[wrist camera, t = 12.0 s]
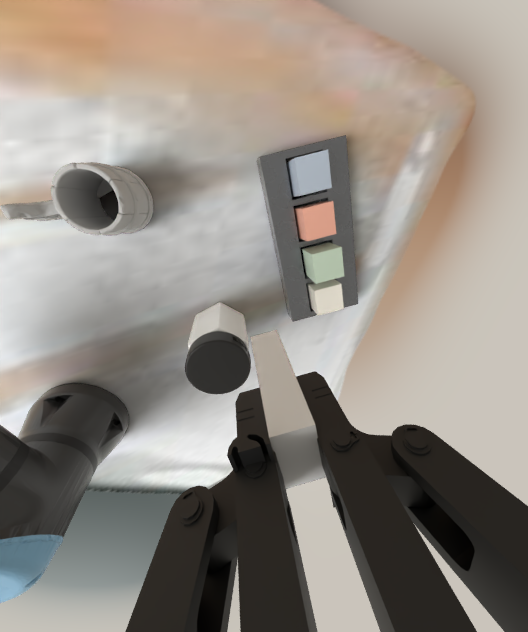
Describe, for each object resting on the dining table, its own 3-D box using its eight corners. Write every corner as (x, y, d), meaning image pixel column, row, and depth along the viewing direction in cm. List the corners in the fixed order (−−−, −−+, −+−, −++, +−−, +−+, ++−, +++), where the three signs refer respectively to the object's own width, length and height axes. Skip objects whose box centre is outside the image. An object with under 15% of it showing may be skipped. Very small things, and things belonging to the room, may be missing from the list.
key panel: (288, 314, 43) (292, 321, 40) (256, 160, 33) (259, 156, 30) (349, 297, 43) (358, 303, 40) (336, 140, 33) (346, 135, 31)
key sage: (306, 275, 38) (316, 283, 34) (302, 249, 36) (311, 254, 32) (331, 268, 38) (344, 276, 34) (328, 242, 36) (341, 246, 32)
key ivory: (309, 304, 41) (318, 315, 37) (305, 282, 40) (314, 291, 36) (332, 298, 41) (343, 308, 37) (329, 275, 40) (341, 283, 36)
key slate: (291, 196, 34) (300, 195, 30) (285, 163, 33) (294, 157, 29) (319, 189, 34) (331, 187, 30) (315, 156, 33) (328, 149, 29)
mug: (164, 226, 35) (136, 236, 24) (77, 242, 34) (7, 260, 23) (144, 163, 32) (101, 141, 21) (47, 179, 31) (-49, 165, 20)
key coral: (298, 237, 37) (307, 241, 33) (293, 208, 35) (302, 208, 31) (324, 230, 37) (336, 233, 33) (320, 201, 35) (333, 200, 31)
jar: (244, 349, 44) (250, 395, 34) (196, 350, 43) (187, 399, 32) (245, 301, 41) (252, 336, 30) (194, 301, 40) (182, 338, 29)
